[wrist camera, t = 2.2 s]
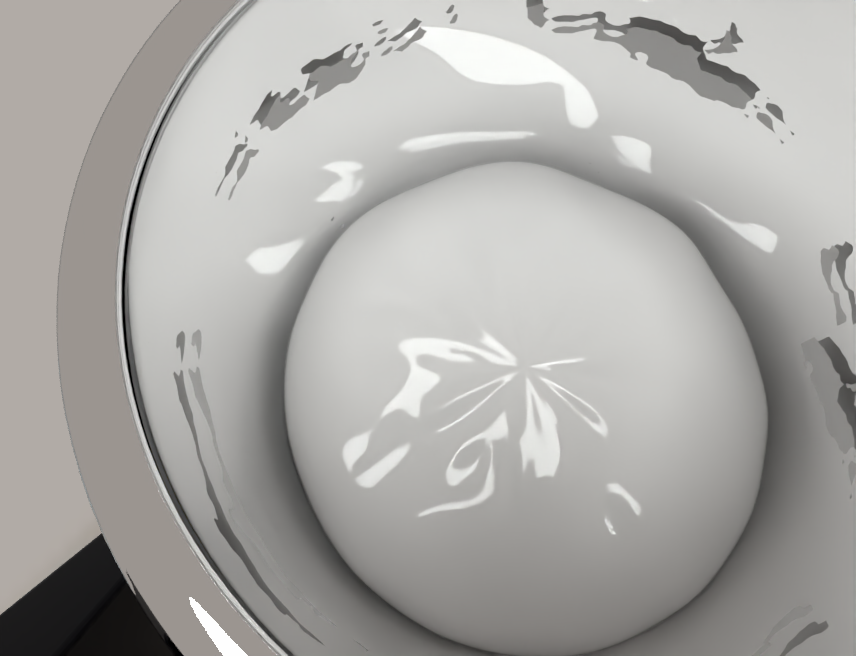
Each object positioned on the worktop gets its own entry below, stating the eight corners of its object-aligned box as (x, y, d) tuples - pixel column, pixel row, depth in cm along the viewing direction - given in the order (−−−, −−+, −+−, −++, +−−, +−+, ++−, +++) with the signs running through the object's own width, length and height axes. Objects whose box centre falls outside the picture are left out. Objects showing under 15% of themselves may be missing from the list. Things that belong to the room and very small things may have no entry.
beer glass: (544, 327, 19) (878, -264, 4) (616, 536, 16) (1764, 725, 2) (348, 376, 18) (9, -93, 4) (394, 597, 16) (1, 1317, 2)
